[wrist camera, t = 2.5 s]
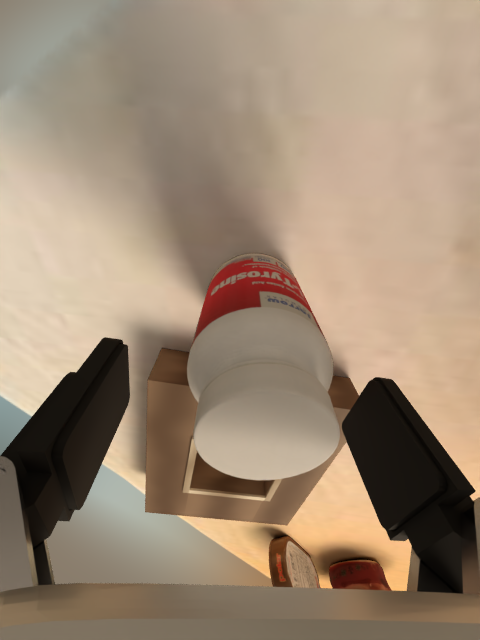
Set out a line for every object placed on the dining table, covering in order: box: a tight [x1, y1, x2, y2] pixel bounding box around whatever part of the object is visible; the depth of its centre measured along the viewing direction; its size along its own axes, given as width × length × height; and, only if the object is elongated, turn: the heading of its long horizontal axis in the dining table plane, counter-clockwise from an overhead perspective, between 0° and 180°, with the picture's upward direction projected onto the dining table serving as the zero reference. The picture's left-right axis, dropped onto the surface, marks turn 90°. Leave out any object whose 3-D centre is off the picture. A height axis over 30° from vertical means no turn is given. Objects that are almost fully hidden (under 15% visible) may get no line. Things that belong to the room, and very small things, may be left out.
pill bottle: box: [187, 253, 340, 480], centre depth 13 cm, size 6×6×11 cm
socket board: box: [145, 348, 359, 525], centre depth 24 cm, size 16×20×4 cm
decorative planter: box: [329, 560, 392, 591], centre depth 40 cm, size 20×12×14 cm, turn 30°
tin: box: [269, 536, 320, 588], centre depth 37 cm, size 15×3×8 cm, turn 29°
